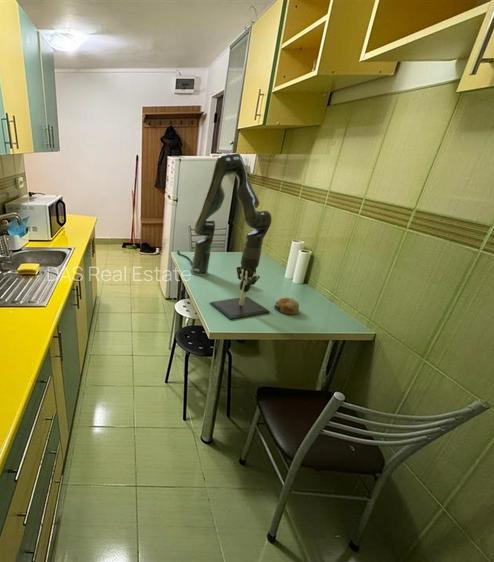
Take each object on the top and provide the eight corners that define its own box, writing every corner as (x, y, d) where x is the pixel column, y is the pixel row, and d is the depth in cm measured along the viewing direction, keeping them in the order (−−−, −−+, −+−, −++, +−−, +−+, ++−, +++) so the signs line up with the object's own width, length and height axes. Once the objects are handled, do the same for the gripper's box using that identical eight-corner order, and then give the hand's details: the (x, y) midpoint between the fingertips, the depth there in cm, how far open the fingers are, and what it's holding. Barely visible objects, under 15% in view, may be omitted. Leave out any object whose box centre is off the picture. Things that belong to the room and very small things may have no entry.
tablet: (210, 303, 151) (210, 301, 150) (246, 298, 157) (246, 296, 157) (230, 319, 137) (230, 317, 136) (269, 313, 143) (269, 310, 143)
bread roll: (291, 322, 142) (303, 311, 138) (271, 309, 145) (283, 297, 140) (292, 313, 150) (303, 302, 146) (273, 301, 153) (284, 290, 148)
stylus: (237, 305, 147) (242, 280, 142) (241, 304, 148) (246, 279, 142) (240, 307, 146) (245, 281, 140) (243, 306, 146) (249, 281, 141)
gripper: (269, 260, 131) (260, 295, 138) (247, 250, 143) (240, 283, 150) (255, 261, 129) (247, 297, 136) (234, 251, 141) (228, 285, 148)
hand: (244, 290), depth 143 cm, fingers closed on stylus, 2 cm apart
